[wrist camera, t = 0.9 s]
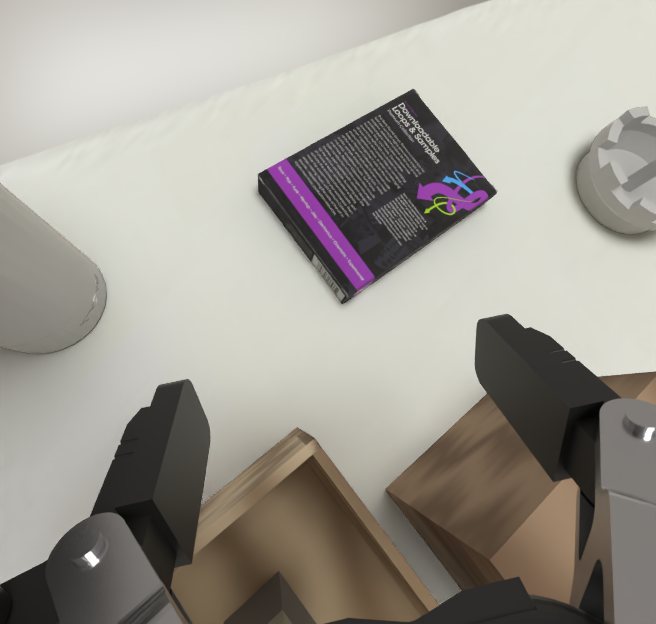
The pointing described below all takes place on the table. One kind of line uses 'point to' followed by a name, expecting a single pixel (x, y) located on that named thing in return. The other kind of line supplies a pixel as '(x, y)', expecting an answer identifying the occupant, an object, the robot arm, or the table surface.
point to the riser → (498, 501)
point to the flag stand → (622, 174)
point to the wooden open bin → (297, 544)
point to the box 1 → (272, 606)
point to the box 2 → (374, 193)
